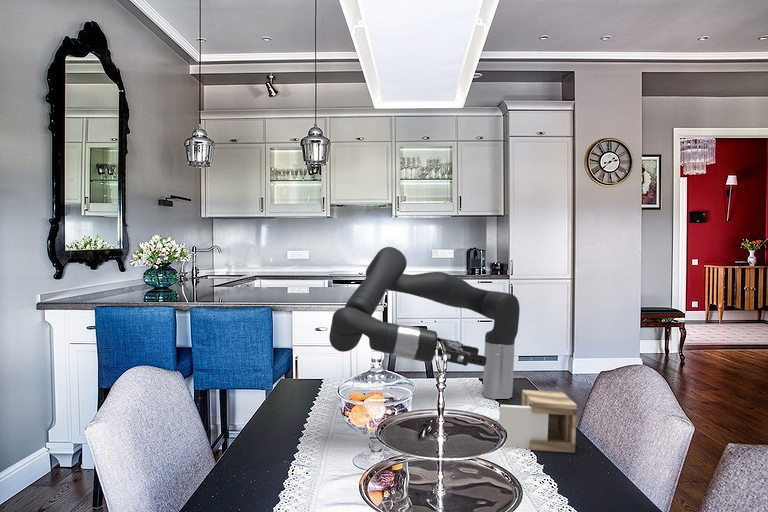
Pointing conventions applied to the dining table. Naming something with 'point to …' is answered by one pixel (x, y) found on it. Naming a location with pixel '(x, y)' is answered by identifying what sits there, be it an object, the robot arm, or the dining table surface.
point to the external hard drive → (482, 411)
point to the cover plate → (523, 425)
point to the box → (553, 419)
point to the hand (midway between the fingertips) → (481, 357)
